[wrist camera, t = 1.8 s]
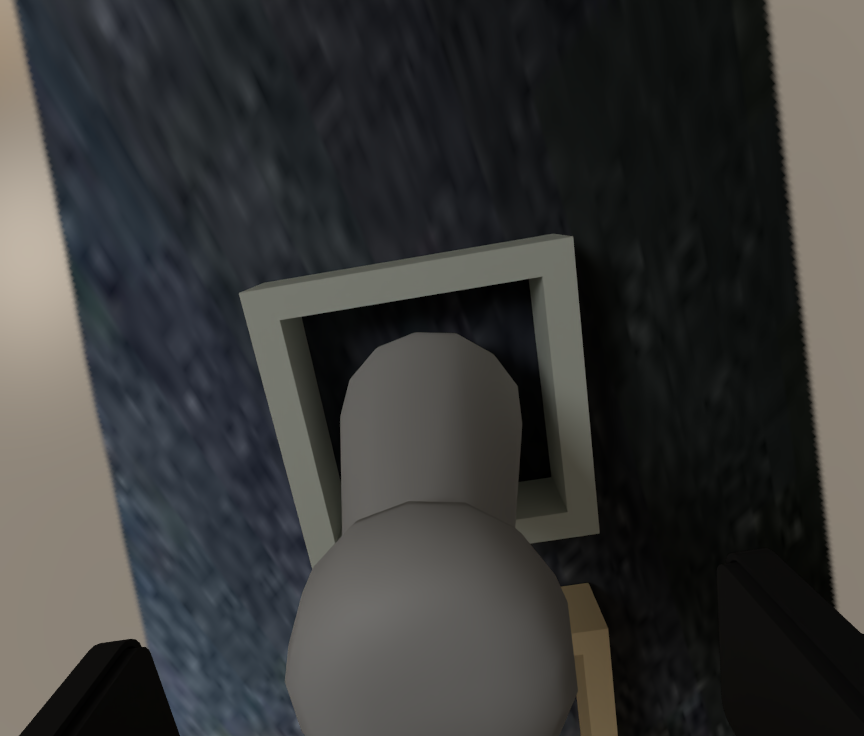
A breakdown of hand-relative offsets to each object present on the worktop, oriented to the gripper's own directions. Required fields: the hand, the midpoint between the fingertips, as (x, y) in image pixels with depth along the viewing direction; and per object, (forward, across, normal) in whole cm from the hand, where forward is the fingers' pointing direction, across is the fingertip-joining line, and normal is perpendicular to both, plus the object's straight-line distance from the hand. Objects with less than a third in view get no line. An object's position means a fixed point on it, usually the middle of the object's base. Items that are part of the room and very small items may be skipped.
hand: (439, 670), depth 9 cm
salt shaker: (+12, 0, -1) cm, 12 cm away
